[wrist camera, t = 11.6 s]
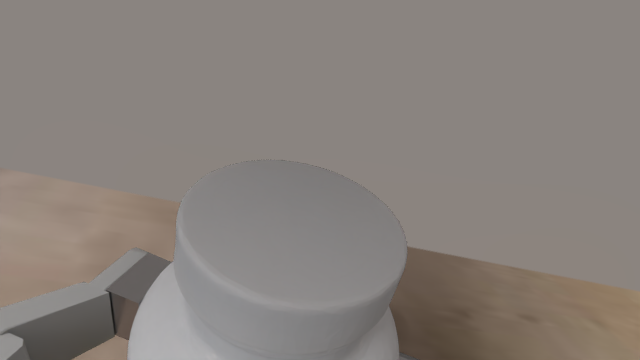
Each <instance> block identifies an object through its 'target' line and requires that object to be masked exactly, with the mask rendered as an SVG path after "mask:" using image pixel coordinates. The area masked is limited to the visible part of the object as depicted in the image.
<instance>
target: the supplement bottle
mask: <svg viewBox="0 0 640 360" xmlns="http://www.w3.org/2000/svg"><path fill="white" fill-rule="evenodd" d="M406 260H407V241H406V238H405V234H404V231H403V229H402V227H401V225H400V223H399V221H398V219H397V218H396V217H395V215H394V214H393V212H392V211H391V210H390V209H389V208H388V207H387V206H386V205H385V204H384V203H383V202H382V201H381V200H380V199H379V198H377V197H376V196H375V195H374V194H373V193H371V192H370V191H368V190H367V189H365V188H364V187H362V186H360V185H359V184H358V183H356V182H354V181H352V180H350V179H348V178H346V177H344V176H342V175H339V174H337V173H335V172H333V171H330V170H327V169H324V168H321V167H317V166H313V165H308V164H304V163H299V162H291V161H285V160H257V161H246V162H241V163H236V164H233V165H229V166H225V167H223V168H220V169H217V170H215V171H212V172H211V173H209V174H207V175H205V176H204V177H202V178H201V179H200V180H199V181H197V182H196V183H195V184H194V185H193V186H192V187H191V188H190V189H189V190H188V192H187V193H186V194H185V196H184V198H183V200H182V201H181V204H180V207H179V210H178V213H177V221H176V244H175V252H174V261H173V262H172V263H170V264H169V265H168V266H167V267H166V268H165V269H164V270H163V271H162V272H161V273H160V275H159V276H158V277H157V279H156V280H155V281H154V283H153V284H152V285H151V287H150V288H149V290H148V291H147V293H146V295H145V297H144V299H143V300H142V302H141V304H140V306H139V308H138V311H137V313H136V316H135V319H134V322H133V325H132V328H131V332H130V338H129V343H128V357H127V360H399V343H398V336H397V331H396V326H395V322H394V318H393V315H392V313H391V310H390V307H389V305H390V302H391V300H392V298H393V295H394V293H395V290H396V288H397V286H398V283H399V281H400V279H401V276H402V274H403V271H404V269H405V265H406Z"/></svg>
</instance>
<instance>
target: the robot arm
mask: <svg viewBox="0 0 640 360" xmlns="http://www.w3.org/2000/svg"><path fill="white" fill-rule="evenodd" d="M170 263H172V262H170V261H167V260H165V259H163V258H160V257H158V256H156V255H153V254H151V253H149V252H146V251H144V250H141V249H139V248H133V249H131V250H129V251H128V252H126V253H125V254H124V255H123V256H121V257H120V258H119V259H118V260H117V261H115V262H114V263H113V264H112V265H110V266H109V267H108V268H107V269H105V270H104V271H103V272H102V273H101V274H99V275H98V276H97V277H96V278H94V279H93V280H92V281H91V282H89V283H86V282H82V283H78V284H75V285H72V286H69V287H66V288H62V289H59V290H56V291H53V292H50V293H46V294H43V295H40V296H37V297H34V298H30V299H27V300H24V301H21V302H18V303H14V304H11V305H8V306H5V307H2V308H0V360H71V359H73V358H75V357H77V356H79V355H81V354H82V353H84V352H86V351H88V350H90V349H92V348H94V347H96V346H98V345H100V344H102V343H104V342H105V341H107V340H109V339H111V338H113V337H114V336H115V335H117V336H119V337H122V338H124V339H127V340H129V338H130V332H131V328H132V325H133V322H134V319H135V316H136V313H137V311H138V308H139V306H140V304H141V302H142V300H143V299H144V297H145V295H146V293H147V291H148V290H149V288H150V287H151V285H152V284H153V283H154V281H155V280H156V279H157V277H158V276H159V275H160V273H161V272H162V271H163V270H164V269H165V268H166V267H167V266H168V265H169V264H170ZM399 360H419V359H416V358H414V357H411V356H408V355H406V354H403V353H401V352H399Z"/></svg>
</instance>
